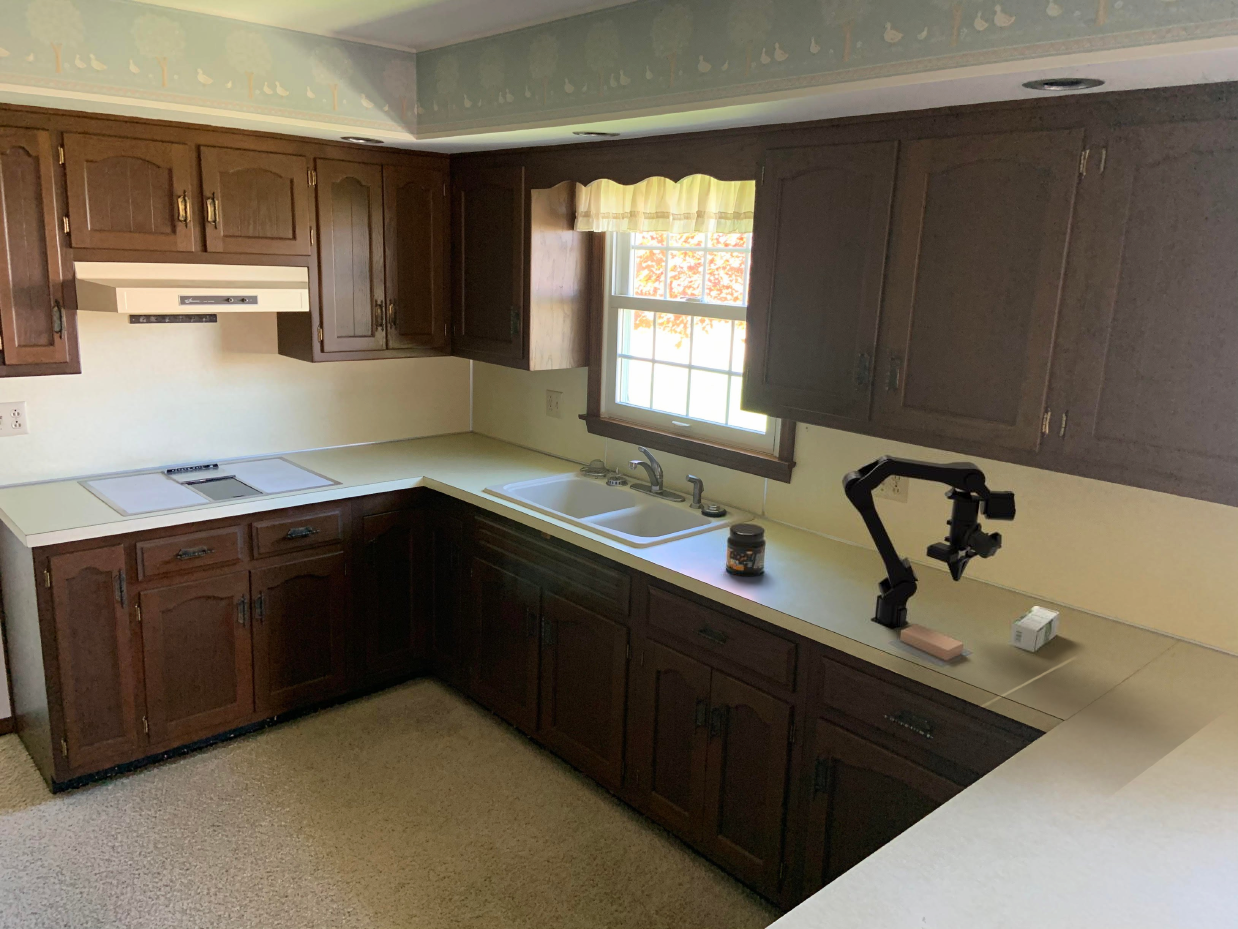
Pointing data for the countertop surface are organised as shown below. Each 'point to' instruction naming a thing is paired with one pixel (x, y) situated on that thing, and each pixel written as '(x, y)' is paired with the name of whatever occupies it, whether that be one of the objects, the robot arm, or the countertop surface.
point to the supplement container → (746, 549)
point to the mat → (927, 655)
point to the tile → (931, 642)
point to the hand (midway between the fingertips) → (956, 580)
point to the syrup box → (1034, 628)
